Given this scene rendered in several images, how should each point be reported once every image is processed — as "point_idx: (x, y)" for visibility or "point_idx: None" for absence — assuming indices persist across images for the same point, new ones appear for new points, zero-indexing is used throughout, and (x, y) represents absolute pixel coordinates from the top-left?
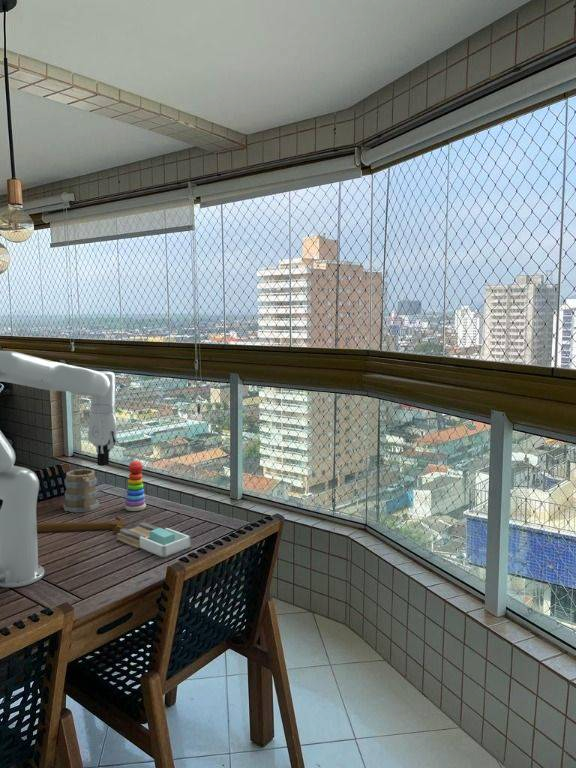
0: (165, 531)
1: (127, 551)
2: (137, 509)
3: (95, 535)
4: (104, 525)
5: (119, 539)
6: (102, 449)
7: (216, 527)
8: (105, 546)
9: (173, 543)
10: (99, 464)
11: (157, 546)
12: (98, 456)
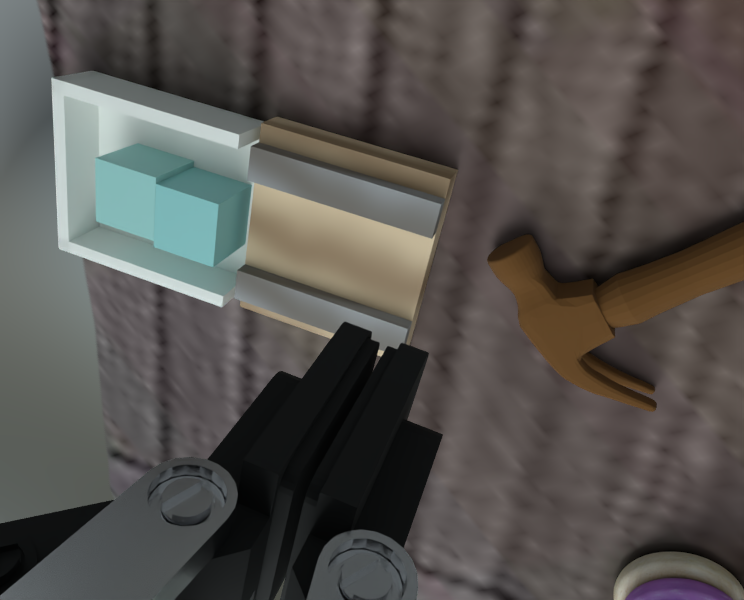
0: (152, 231)
1: (286, 50)
2: (633, 562)
3: (633, 168)
4: (636, 276)
5: (433, 164)
6: (92, 534)
7: (163, 449)
8: (447, 49)
9: (56, 143)
10: (356, 332)
11: (103, 89)
12: (348, 446)
